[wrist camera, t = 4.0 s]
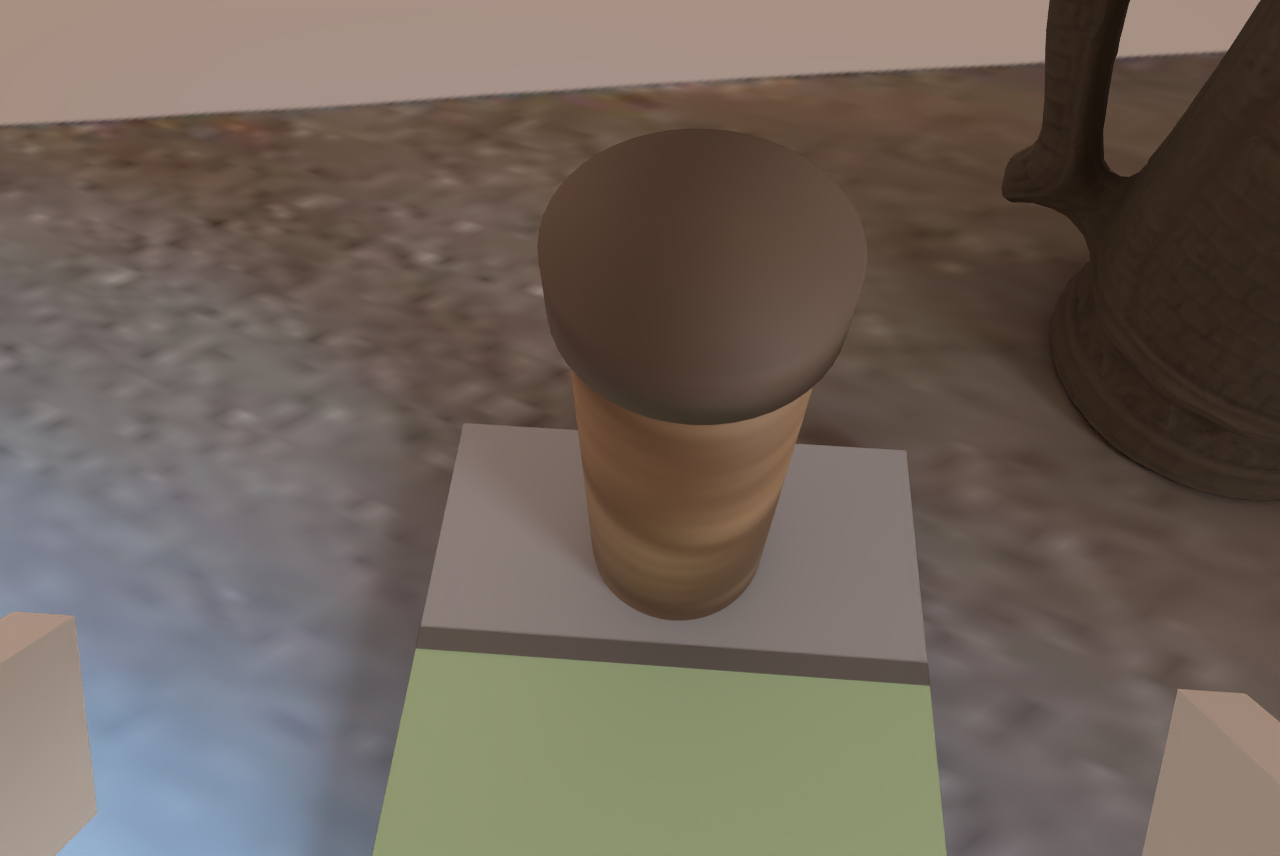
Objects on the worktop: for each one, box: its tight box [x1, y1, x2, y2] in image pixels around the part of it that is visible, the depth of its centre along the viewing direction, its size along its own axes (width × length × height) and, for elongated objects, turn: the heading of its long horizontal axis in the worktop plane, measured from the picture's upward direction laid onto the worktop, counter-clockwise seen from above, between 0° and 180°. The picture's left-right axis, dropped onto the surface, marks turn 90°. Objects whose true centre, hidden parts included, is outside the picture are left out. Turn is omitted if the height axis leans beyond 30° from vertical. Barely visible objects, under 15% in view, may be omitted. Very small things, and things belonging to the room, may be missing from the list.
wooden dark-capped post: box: [538, 129, 868, 621], centre depth 20 cm, size 6×6×12 cm
